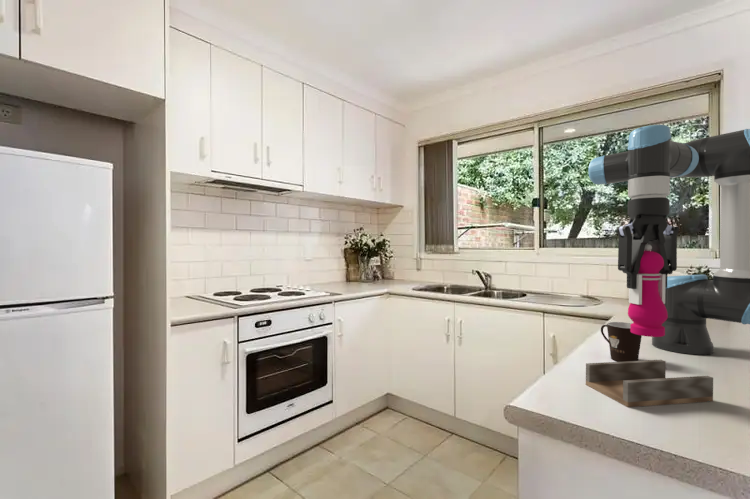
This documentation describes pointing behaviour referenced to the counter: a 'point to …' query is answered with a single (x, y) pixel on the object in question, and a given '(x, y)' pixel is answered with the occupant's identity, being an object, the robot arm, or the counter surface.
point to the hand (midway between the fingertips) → (646, 303)
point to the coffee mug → (622, 341)
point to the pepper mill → (649, 298)
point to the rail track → (646, 383)
